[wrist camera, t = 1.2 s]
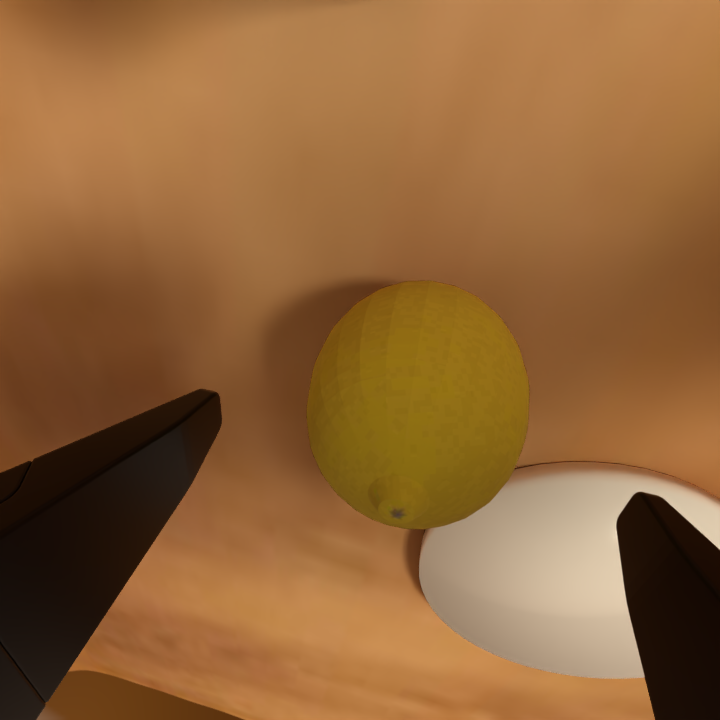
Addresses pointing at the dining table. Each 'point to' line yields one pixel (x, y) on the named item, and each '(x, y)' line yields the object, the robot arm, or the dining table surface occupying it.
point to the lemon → (418, 405)
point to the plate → (551, 566)
